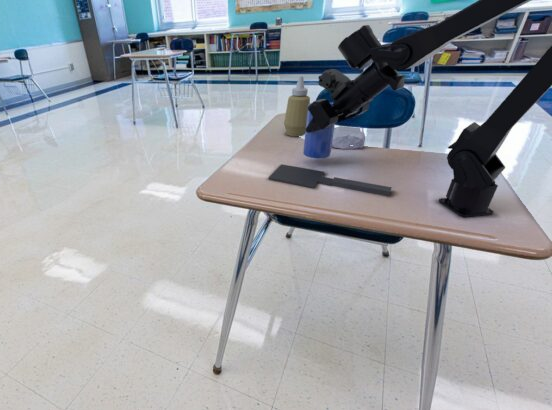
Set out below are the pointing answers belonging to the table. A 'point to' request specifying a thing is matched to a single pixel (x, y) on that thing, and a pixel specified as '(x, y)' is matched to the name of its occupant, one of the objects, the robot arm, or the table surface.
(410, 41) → the robot arm
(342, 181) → the spatula
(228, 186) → the table surface
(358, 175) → the table surface
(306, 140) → the cup
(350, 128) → the stone block
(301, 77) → the squeeze bottle
